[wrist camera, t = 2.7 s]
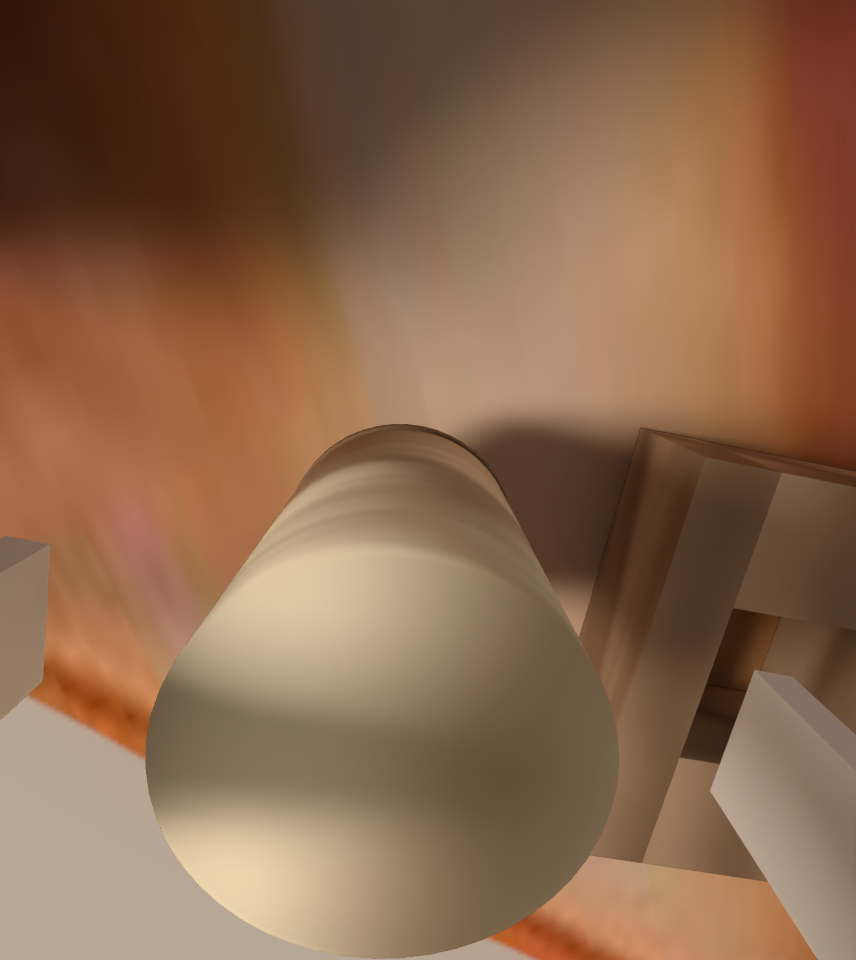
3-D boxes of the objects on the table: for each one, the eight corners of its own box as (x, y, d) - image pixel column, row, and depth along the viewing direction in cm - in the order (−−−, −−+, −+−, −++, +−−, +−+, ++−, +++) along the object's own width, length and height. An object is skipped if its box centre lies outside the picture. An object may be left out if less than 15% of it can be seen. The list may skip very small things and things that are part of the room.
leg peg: (302, 555, 23) (124, 929, 9) (330, 386, 21) (165, 509, 7) (469, 585, 23) (555, 986, 9) (509, 422, 22) (683, 603, 8)
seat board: (545, 751, 25) (577, 853, 20) (640, 427, 22) (705, 457, 17) (939, 814, 26) (1057, 924, 22) (1087, 518, 23) (1266, 570, 18)
